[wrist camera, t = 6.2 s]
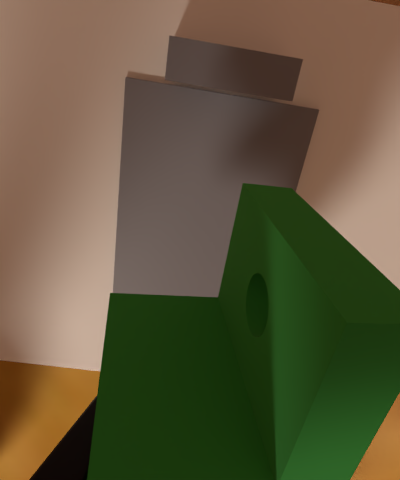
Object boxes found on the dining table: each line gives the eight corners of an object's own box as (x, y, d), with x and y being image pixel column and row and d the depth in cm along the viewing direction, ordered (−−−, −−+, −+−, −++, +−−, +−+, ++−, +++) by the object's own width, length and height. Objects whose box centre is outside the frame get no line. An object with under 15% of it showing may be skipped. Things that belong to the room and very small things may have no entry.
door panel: (-6, 342, 20) (-40, 390, 17) (-60, -75, 12) (-142, -115, 9) (344, 381, 21) (367, 431, 19) (508, 33, 13) (591, 28, 11)
